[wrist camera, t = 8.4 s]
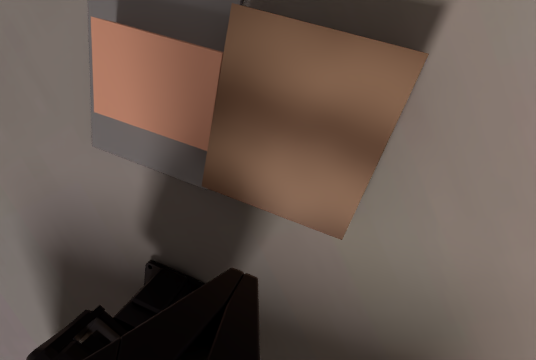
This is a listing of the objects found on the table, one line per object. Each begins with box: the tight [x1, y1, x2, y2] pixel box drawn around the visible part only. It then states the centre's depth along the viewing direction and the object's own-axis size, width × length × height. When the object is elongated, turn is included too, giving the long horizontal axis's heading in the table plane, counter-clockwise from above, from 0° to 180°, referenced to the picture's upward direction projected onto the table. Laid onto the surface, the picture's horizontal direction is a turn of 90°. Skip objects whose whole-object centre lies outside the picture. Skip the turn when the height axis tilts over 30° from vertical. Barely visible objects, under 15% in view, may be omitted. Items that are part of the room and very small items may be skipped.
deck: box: [202, 3, 429, 240], centre depth 16 cm, size 11×10×2 cm
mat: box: [88, 0, 243, 190], centre depth 19 cm, size 14×11×1 cm
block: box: [91, 17, 224, 151], centre depth 18 cm, size 9×6×2 cm, turn 77°
